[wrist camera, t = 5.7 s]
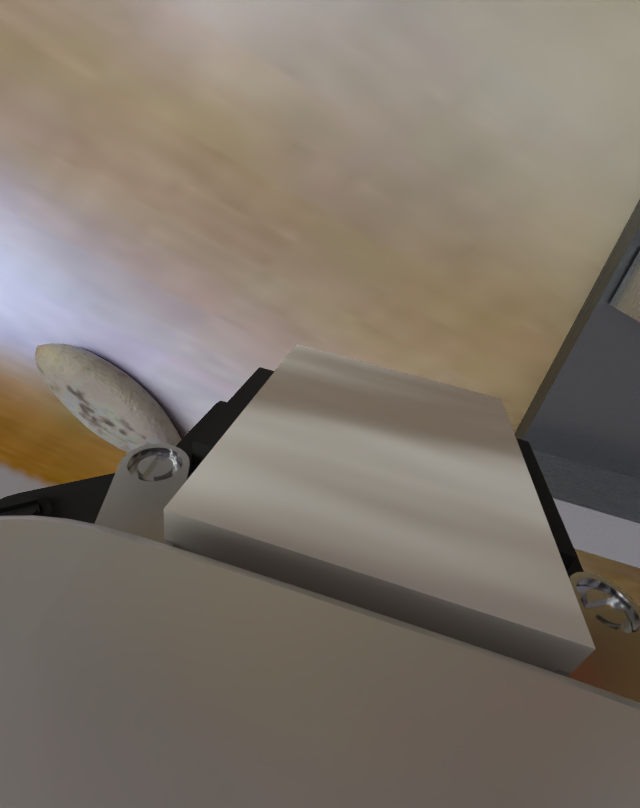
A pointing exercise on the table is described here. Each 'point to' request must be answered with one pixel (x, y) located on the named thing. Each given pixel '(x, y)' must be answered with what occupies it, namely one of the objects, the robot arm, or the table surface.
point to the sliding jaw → (629, 292)
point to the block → (387, 507)
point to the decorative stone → (104, 397)
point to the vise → (595, 418)
